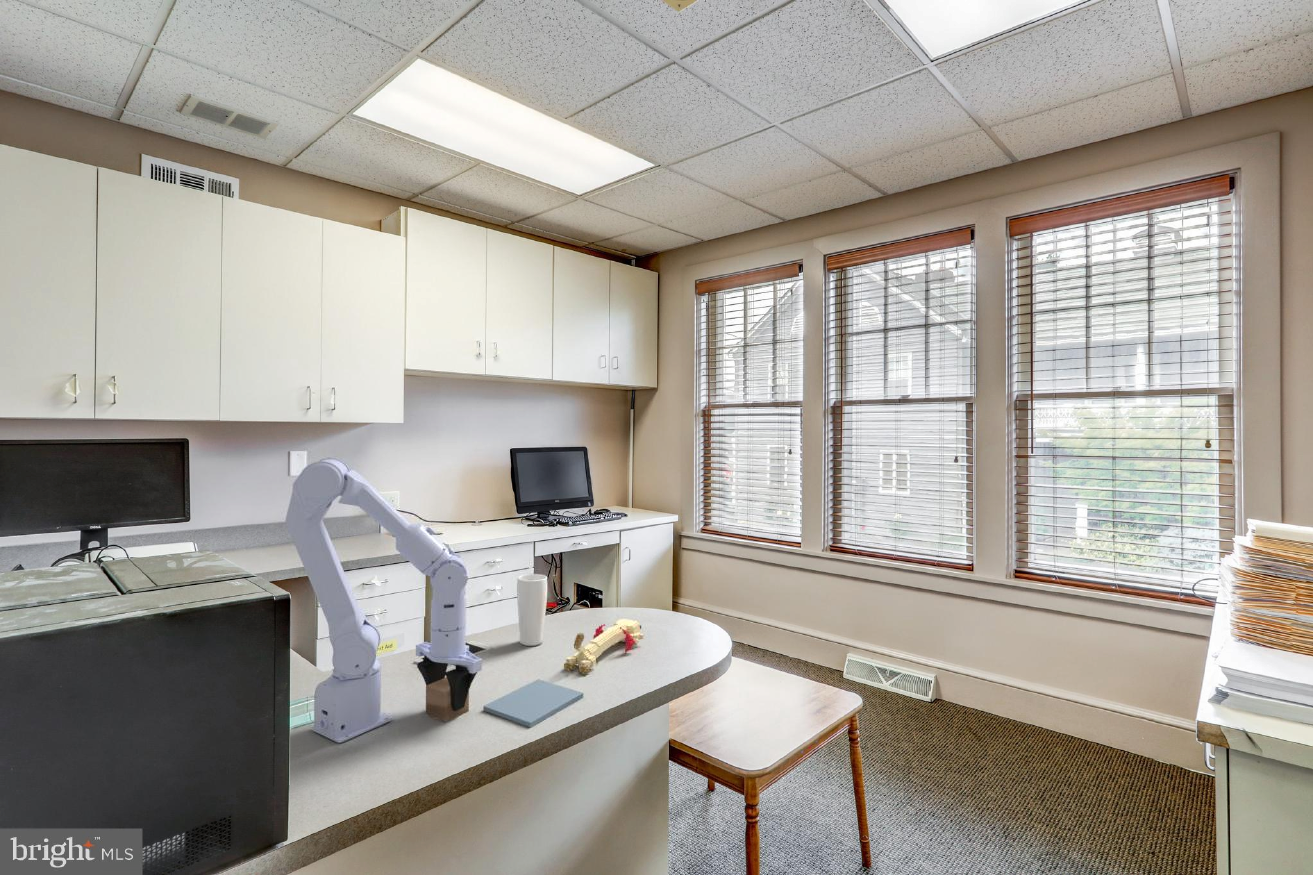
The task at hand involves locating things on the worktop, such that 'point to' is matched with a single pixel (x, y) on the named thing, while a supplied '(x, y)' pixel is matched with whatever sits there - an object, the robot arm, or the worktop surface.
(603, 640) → the cream long lumpy piece
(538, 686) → the slate board
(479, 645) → the smartphone
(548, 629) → the worktop surface
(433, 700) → the walnut cube
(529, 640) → the drinking glass
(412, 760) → the worktop surface
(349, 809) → the worktop surface
